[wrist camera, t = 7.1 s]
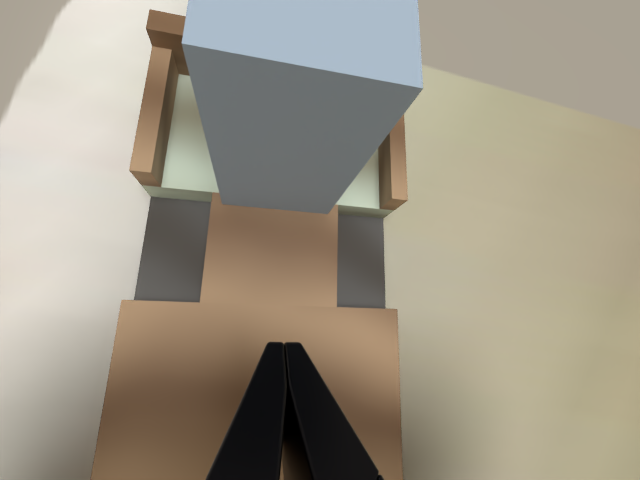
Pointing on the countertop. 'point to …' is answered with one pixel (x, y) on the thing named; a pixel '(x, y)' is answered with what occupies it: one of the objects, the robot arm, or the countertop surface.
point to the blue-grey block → (299, 92)
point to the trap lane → (242, 295)
